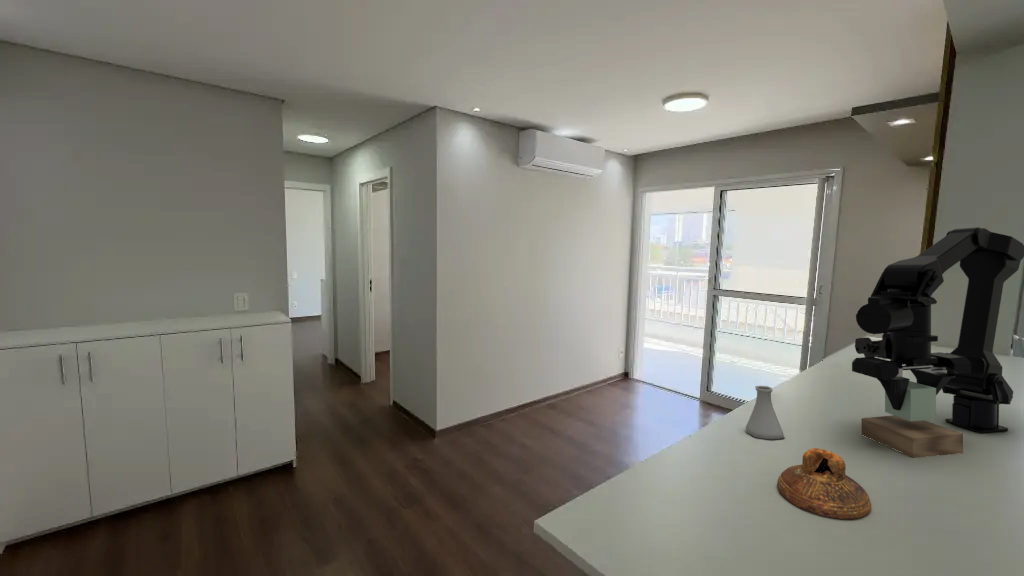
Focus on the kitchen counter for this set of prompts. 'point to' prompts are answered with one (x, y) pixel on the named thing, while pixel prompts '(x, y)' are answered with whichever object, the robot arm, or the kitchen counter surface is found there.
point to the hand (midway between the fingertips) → (909, 408)
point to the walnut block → (913, 436)
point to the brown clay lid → (824, 486)
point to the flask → (764, 417)
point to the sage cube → (915, 403)
